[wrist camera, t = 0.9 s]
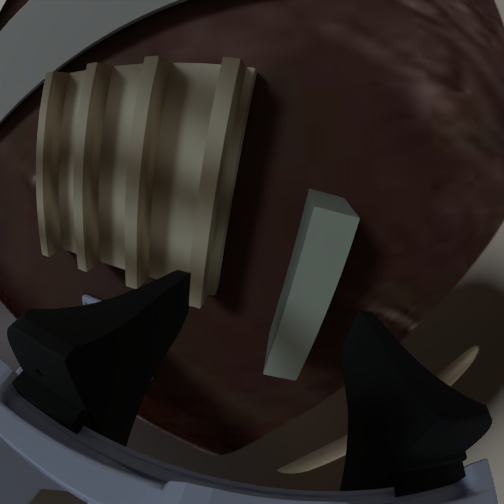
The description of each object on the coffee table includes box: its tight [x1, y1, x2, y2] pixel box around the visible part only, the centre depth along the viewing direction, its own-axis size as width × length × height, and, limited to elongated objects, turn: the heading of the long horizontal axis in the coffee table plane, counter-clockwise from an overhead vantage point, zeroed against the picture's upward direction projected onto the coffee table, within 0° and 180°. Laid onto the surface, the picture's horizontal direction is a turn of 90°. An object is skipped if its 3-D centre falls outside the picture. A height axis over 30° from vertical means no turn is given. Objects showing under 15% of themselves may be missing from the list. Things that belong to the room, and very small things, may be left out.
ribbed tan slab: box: [36, 56, 257, 308], centre depth 17 cm, size 16×17×3 cm
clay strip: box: [263, 189, 360, 380], centre depth 18 cm, size 12×2×5 cm, turn 169°
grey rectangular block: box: [0, 0, 187, 124], centre depth 13 cm, size 34×5×10 cm
